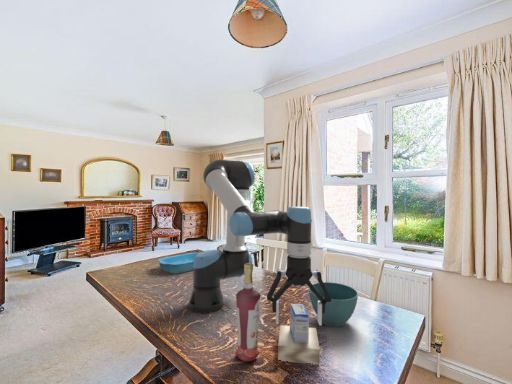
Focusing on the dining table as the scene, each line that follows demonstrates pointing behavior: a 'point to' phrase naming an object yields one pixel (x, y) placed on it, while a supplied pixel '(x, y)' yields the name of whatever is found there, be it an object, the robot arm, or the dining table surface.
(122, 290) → the dining table surface
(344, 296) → the plant pot
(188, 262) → the casserole dish
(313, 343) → the birch block
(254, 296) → the liquor
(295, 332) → the medicine box
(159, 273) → the dining table surface
